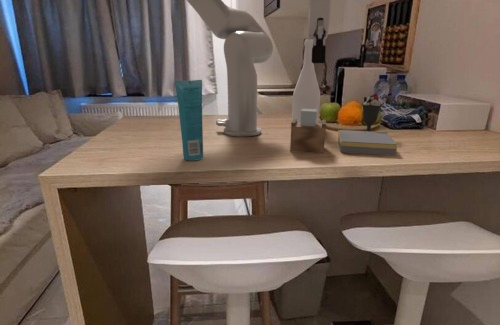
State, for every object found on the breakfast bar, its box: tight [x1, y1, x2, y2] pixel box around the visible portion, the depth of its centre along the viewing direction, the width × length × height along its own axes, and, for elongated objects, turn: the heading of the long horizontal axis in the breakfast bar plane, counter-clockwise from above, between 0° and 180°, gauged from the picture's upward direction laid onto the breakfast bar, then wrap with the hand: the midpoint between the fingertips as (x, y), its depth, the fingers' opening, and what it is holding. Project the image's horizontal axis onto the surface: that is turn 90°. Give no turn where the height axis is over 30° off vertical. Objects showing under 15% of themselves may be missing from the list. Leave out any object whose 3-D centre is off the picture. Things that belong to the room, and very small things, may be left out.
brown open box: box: [289, 118, 327, 154], centre depth 90 cm, size 9×6×8 cm
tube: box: [174, 79, 204, 162], centre depth 79 cm, size 7×5×19 cm, turn 140°
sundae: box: [360, 88, 384, 132], centre depth 104 cm, size 7×7×15 cm
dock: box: [337, 129, 398, 156], centre depth 93 cm, size 14×14×3 cm
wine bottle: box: [291, 38, 321, 123], centre depth 114 cm, size 10×10×30 cm
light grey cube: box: [300, 109, 317, 127], centre depth 88 cm, size 4×4×4 cm
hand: (317, 62), depth 86 cm, fingers open, 9 cm apart
